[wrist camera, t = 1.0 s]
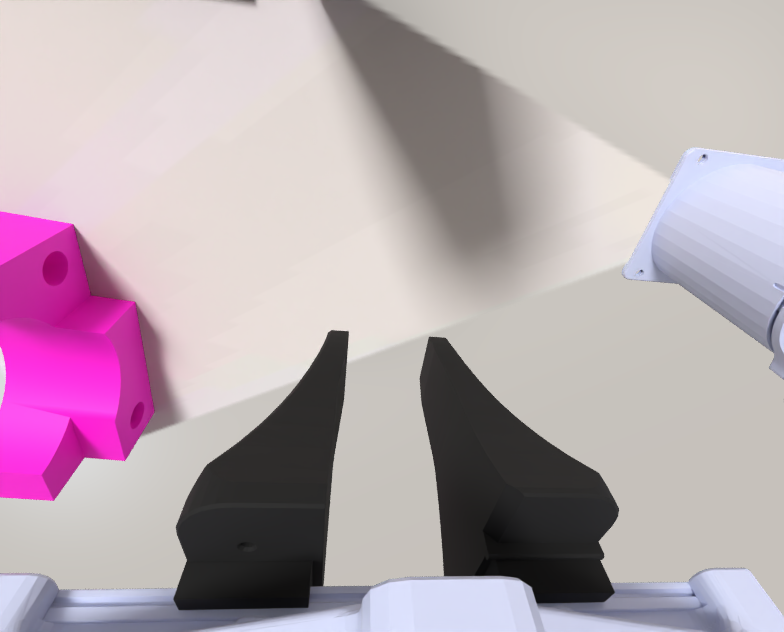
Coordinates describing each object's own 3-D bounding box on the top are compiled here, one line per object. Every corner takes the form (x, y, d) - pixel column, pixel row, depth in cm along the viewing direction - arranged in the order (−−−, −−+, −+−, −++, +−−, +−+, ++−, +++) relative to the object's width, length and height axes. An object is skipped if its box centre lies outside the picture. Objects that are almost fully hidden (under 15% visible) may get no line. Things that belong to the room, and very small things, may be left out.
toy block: (155, 410, 29) (99, 503, 23) (66, 400, 28) (-18, 496, 22) (124, 231, 21) (25, 302, 15) (-3, 208, 20) (-165, 275, 14)
